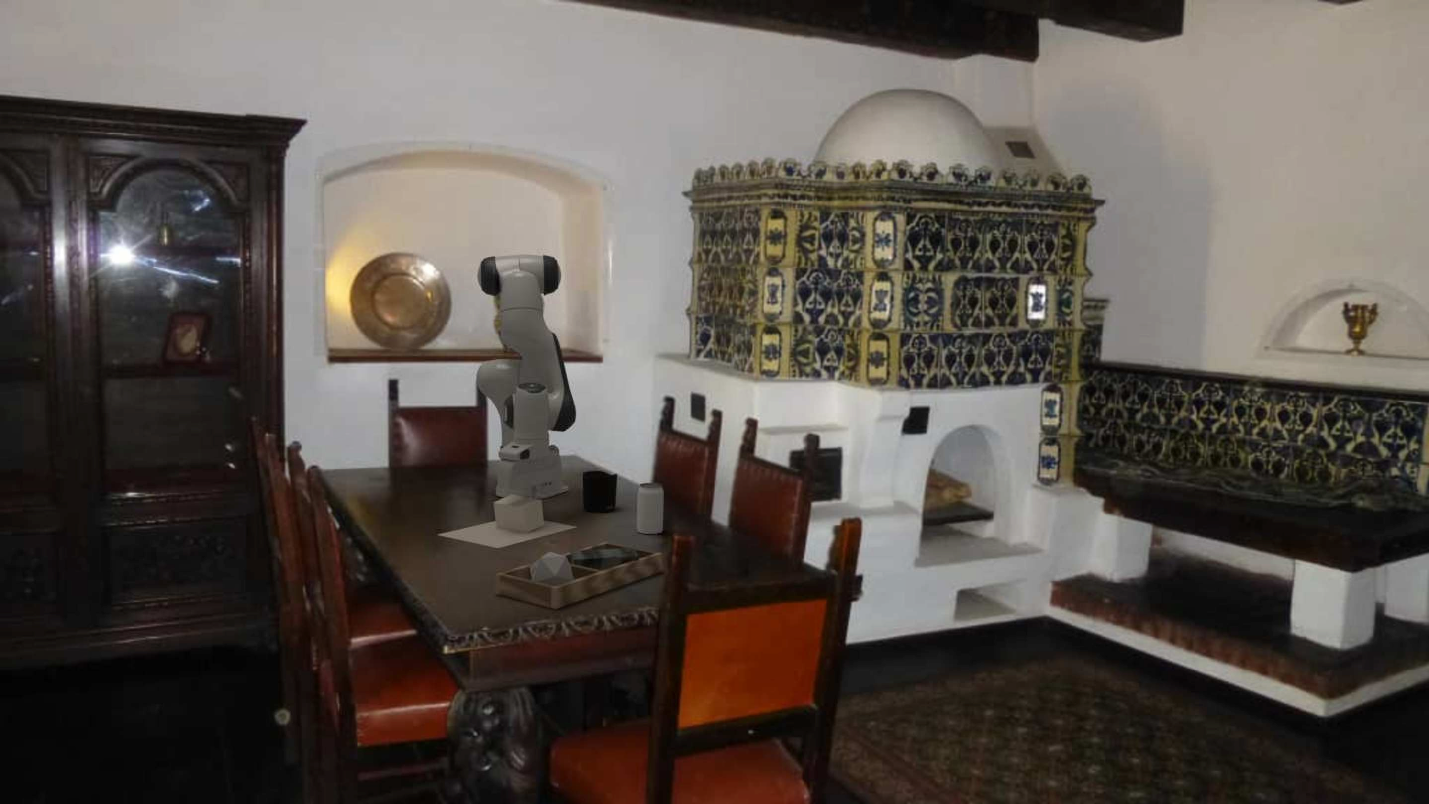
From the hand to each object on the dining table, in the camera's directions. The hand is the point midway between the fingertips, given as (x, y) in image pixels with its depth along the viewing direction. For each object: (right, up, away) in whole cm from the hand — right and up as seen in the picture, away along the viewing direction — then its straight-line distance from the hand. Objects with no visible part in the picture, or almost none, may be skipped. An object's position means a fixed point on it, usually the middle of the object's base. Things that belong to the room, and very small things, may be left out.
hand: (530, 502), depth 269 cm
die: (+14, -13, -55) cm, 58 cm away
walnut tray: (+19, -12, -47) cm, 52 cm away
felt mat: (-4, -7, -6) cm, 10 cm away
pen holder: (+15, -4, +24) cm, 28 cm away
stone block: (+22, -12, -41) cm, 48 cm away
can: (+30, -7, 0) cm, 31 cm away
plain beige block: (-2, -6, -2) cm, 6 cm away
